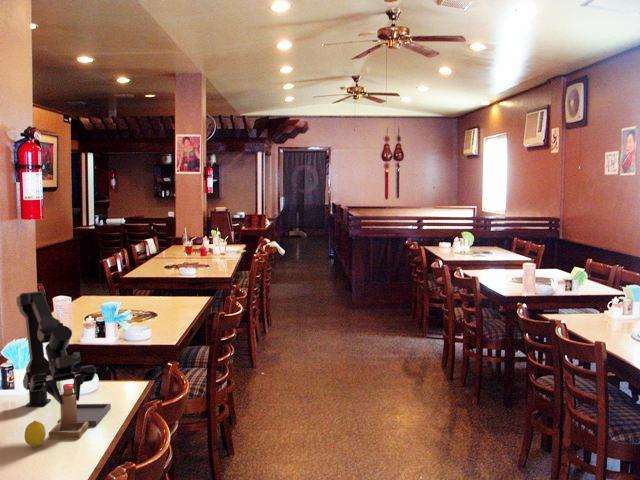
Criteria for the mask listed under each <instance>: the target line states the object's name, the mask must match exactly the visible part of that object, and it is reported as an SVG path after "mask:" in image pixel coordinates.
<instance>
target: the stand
mask: <svg viewBox="0 0 640 480" xmlns="http://www.w3.org/2000/svg"><path fill="white" fill-rule="evenodd" d="M89 428H90V426H89V421H83V422H76V423H73V424H69V425H64V424H61V422H59V423H58V422H57V423H56V425H55V426H54V427H52V428H51V430H50V431H49V432H48V440H80V439H81V437H83V435H84V434H85V433H86V432H87V431H88V429H89ZM76 429H78V430H77V431H61V430H76Z"/></svg>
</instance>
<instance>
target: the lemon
mask: <svg viewBox="0 0 640 480" xmlns="http://www.w3.org/2000/svg"><path fill="white" fill-rule="evenodd" d="M45 439H46V429H45V425H44V424H43V423H42V422H40V421H37V420H33V421H32V422H30V423H28V425H26V427H25V430H24V440H25V442H26V444H27V445H28V446H30V447H32V448H35V449H36V448H38V446H40V445H42V444H43V442H44V441H45Z"/></svg>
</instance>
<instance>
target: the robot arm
mask: <svg viewBox="0 0 640 480" xmlns="http://www.w3.org/2000/svg"><path fill="white" fill-rule="evenodd" d="M16 306H17V308H18V309H19V313H20V314H21V315H22V317H24V319H25V325H26V327H25V328H26V335H27V343H28V354H29V362H28V363H27V365H26V368H25V371H26V372H25V373H24V377H23V380H22V385H23V388H24V389H25V390H26V391H28V394H29V395H28V396H29V397H28V400H29V401H28V402H27V403H26V404H25V407H45V406H46V405H47V404H48V403H50V402H51V401H52V399H51V398H48V394H49V395H50V396H51V397H52V398H54V400H56V401H57V403H58V404H59V405H60V404H62V398H61V392H60V390H59V387H58V383H57V382H63V381H69V380H73V383H72V384H73V392H74V393H76V397H77V402H79V400H80V394H81V386H82V385H84V384H83V383H87V382H91V381H93V380H94V378H95V375H96V374H97V370H96V367H95V366H94V365H93V364H91V365H90V364H89V365H83V366H81V367H80V369H79V370H78V371H75V372H73V371H74V369H75V367H74V366H76V364H80V362H81V361H82V357H81V354H80V351H75V352H73V353H71V354H70V355H68V352H67V350H66V349H67V348H68V346H69V343H70V342H71V339H72V336H73V330H72V329H71V328H70V327H69V326H67V325H64V323H63V322H61V321H60V319H57V318H56V317H54V316H53V314H52V311H51V309H50V306H49V304H48V301H47V298H46V293H45V291H42V290H41V291H31V292H22V293H20V294H19V295H18V296H16ZM46 343H47V344H46ZM44 344H46V346H45V348H44ZM44 349H45V351H44ZM45 354H46V357H47V358H46V357H45Z"/></svg>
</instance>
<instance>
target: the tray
mask: <svg viewBox="0 0 640 480" xmlns="http://www.w3.org/2000/svg"><path fill="white" fill-rule="evenodd" d="M111 406H112V405H111V403H77V422H83V421H89V427H97V426H98V425H99V424H100V422H102V420H103V419H104V418H105V417H106V416H107V414H108V412H110V410H111V409H112V408H111ZM59 422H61V417H60V418H59V419H58V420H57V424H58V423H59Z"/></svg>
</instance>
